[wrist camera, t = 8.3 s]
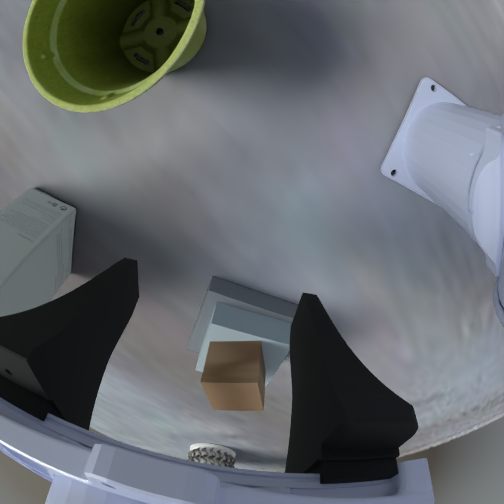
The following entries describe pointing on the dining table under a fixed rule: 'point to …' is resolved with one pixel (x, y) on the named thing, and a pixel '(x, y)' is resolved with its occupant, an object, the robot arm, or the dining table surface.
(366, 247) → the dining table surface
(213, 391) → the walnut cube
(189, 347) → the base slab
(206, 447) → the decorative candle
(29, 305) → the skincare box
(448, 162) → the robot arm
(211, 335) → the top slab
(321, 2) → the dining table surface
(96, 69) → the plant pot
